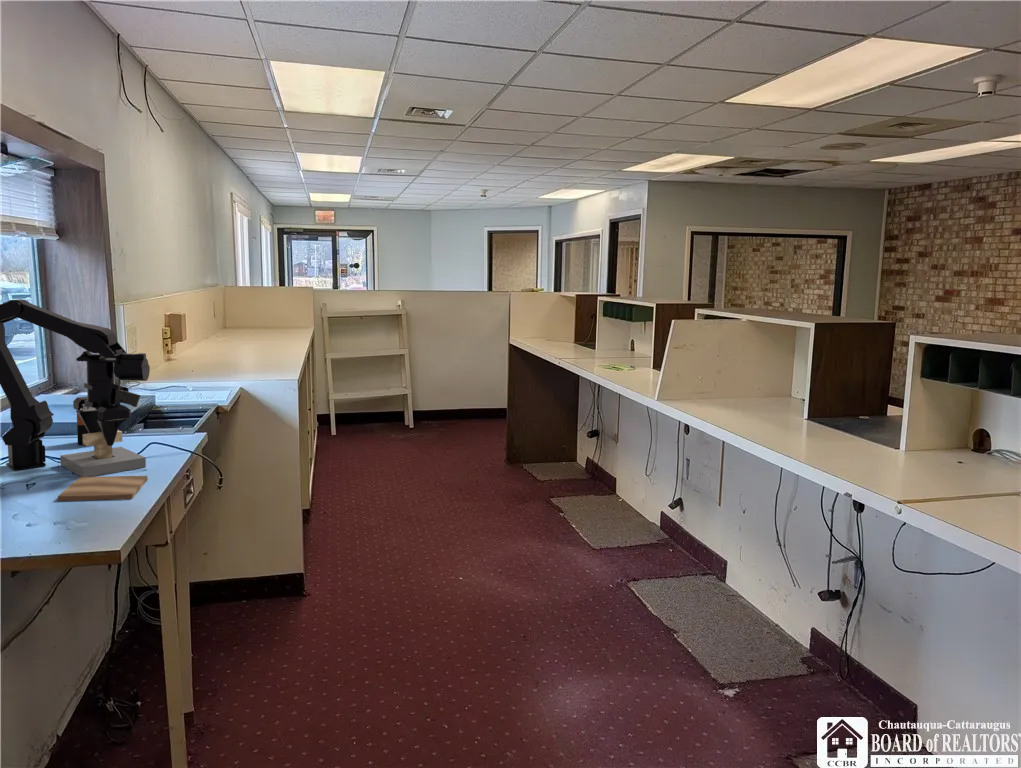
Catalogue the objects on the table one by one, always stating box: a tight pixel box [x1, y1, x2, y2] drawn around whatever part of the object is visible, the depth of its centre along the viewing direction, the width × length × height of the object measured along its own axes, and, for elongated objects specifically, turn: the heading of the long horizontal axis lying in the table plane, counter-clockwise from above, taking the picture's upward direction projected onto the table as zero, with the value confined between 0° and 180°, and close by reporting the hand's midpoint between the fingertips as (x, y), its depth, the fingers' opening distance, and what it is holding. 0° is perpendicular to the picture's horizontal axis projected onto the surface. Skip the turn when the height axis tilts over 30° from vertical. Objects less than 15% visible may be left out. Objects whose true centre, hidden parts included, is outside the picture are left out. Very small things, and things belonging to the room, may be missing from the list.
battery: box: [76, 413, 102, 446], centre depth 186 cm, size 4×7×10 cm, turn 115°
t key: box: [82, 429, 123, 460], centre depth 166 cm, size 8×3×8 cm, turn 142°
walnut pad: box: [57, 475, 149, 502], centre depth 149 cm, size 14×14×1 cm
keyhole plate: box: [59, 446, 147, 477], centre depth 166 cm, size 14×14×2 cm
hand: (102, 441), depth 166 cm, fingers open, 9 cm apart
